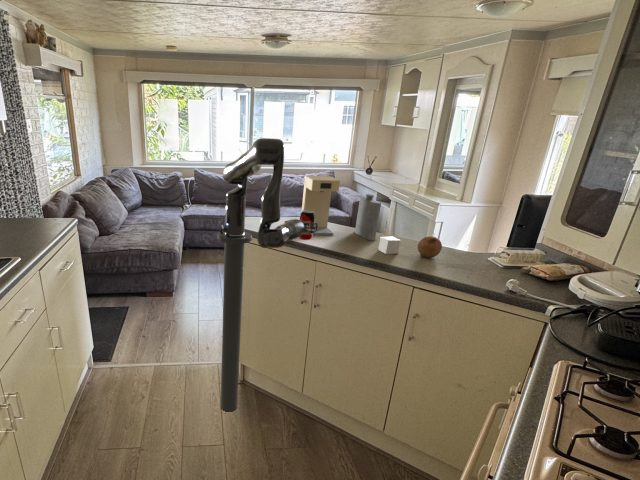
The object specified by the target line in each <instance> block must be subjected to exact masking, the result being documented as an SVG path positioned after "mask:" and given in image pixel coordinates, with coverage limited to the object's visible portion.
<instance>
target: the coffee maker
mask: <svg viewBox="0 0 640 480" xmlns="http://www.w3.org/2000/svg"><path fill="white" fill-rule="evenodd" d="M340 184H341V180H340V179H338V178H335V177H334V176H331V175H304V182H303V192H302V193H303V194H302V204H301V211H302V210H312V211H314V215H315V220H314V222H317V223H318V228H317V231H315V232H314V233H313V236H334V232H333V231H332V230H331V229H330V228H328V224H329V216H330V207H331V199H332V192H339V190H340Z"/></svg>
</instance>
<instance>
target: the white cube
mask: <svg viewBox="0 0 640 480" xmlns="http://www.w3.org/2000/svg"><path fill="white" fill-rule="evenodd" d="M400 244H401V239H400V238H397V237H395V236H391V235H390V236H388V235H387V236H380V238H379V244H378V249H377V251H379V252H380V253H383V254H385V255H395V254H399V250H400Z"/></svg>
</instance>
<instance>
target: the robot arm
mask: <svg viewBox="0 0 640 480" xmlns="http://www.w3.org/2000/svg"><path fill="white" fill-rule="evenodd" d="M285 150H286V149H285V144H284V141H283V140H282V139H281V138H268V137H267V138H266V137H263V138H262V137H261V138H258V139H256V140H254V142H253V143H252V145H251V146H250V147H249V148H248V149H247V150H246V151H245V152H243V153H242V154H241V155H240V156H238V158H236V159H235V160H234V161H232V162H229V163H227V164H225V166H224V168H223V171H222V178H223V181H224V183H225V184H227V185H235V186H236V185H237V186H236V187H235V188H233V189H232V190H229V191H227V193H226V195H225V214H224V224H221V228H220V229H219V232H220V233H221V234H223V232H225V235H226V236H229V237H242V236H244V234H245V233H244V231H245V228H246V227H245V225H246V203H247V202H246V201H247V191H248V181H249V180H248V179H249V178H250V177H252V176H254V175H255V174H258V172H259V171H260V170H261V168H262V166H272V175H271V178H270V179H269V182H268V184H267V186H266V187H265V190H264V192H263V193H262V196H261V202H260V203H261V204H260V207H261V208H260V209H261V211H260V212H261V216H260V217H261V218H260V223H259V227H258V231H257V237H256V240H257V243H258V245H259V247H260V248H262V249H279V248H282V247H284V246H285V245H286V243H287V242H289V241H293V240H295V239H298V238H299V237H300V236H301V235H302V234H303V233H304V232H306V231H310V232H311V233H314V232H315V231H317V228H318V223H317V222H314V223H309V222H308V223H304V222H301V221H300V219H297V218H294V219H293V218H292V219H288V220H285V221H284V223H282V224H279V225H277V226H276V227H274V228H271V226H272V225H273V224H275V223H278V222H279V221H280V220H281V191H282V183H283V174H284V164H285V153H286V151H285ZM311 225H312V226H311ZM310 226H311V228H310ZM222 231H223V232H222Z"/></svg>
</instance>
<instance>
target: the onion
mask: <svg viewBox="0 0 640 480" xmlns="http://www.w3.org/2000/svg"><path fill="white" fill-rule="evenodd" d="M442 248H443V243H442V241H441V240H440V239H439V238H438V237H436V236H434V235H433V236H432V235H427V236H424V237H423V238H421V239H420V240H419V242H418V243H417V252H418V253H419V255H420V257H424V258H427V259H433V258H435V257H437V256H438V255H439V254H440V253H441V252H442Z"/></svg>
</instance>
